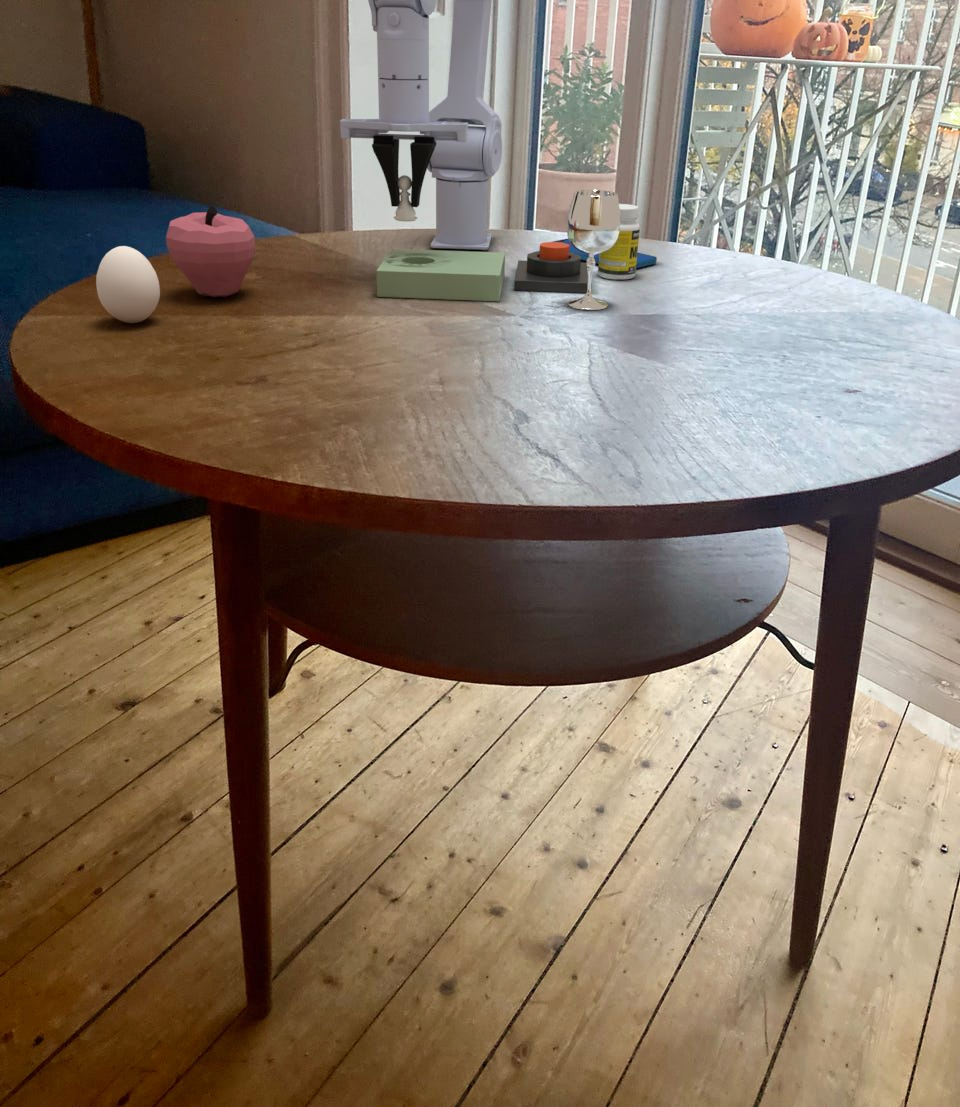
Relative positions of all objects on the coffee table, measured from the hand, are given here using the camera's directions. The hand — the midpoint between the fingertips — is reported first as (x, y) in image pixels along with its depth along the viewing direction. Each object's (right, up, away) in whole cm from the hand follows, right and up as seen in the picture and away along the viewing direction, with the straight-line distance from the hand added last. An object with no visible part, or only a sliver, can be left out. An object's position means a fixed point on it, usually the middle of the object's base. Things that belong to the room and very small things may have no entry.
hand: (405, 205), depth 118 cm
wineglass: (+21, -13, -6) cm, 26 cm away
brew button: (+18, -6, +3) cm, 19 cm away
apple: (-21, -12, -5) cm, 25 cm away
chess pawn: (0, -2, +1) cm, 2 cm away
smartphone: (+25, -2, +16) cm, 30 cm away
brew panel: (+18, -8, +4) cm, 20 cm away
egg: (-27, -18, -16) cm, 36 cm away
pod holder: (+5, -10, 0) cm, 11 cm away
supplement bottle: (+26, -6, +7) cm, 28 cm away
